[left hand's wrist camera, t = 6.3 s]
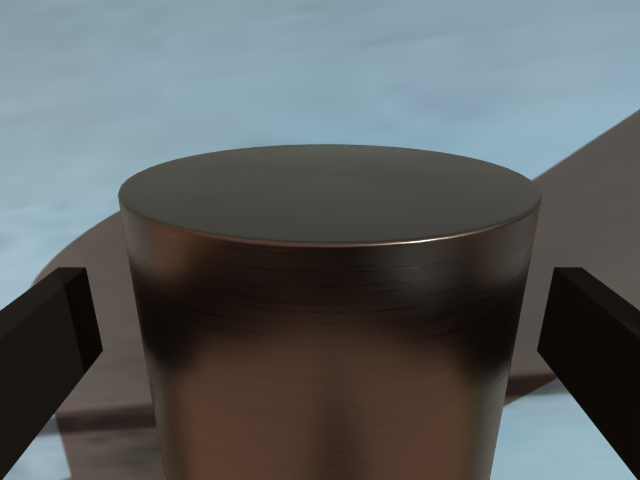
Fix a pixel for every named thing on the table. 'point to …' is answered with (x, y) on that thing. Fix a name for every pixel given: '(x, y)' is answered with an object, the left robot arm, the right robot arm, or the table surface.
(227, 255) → the rod
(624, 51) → the table surface
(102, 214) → the table surface
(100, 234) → the table surface
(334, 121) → the table surface
